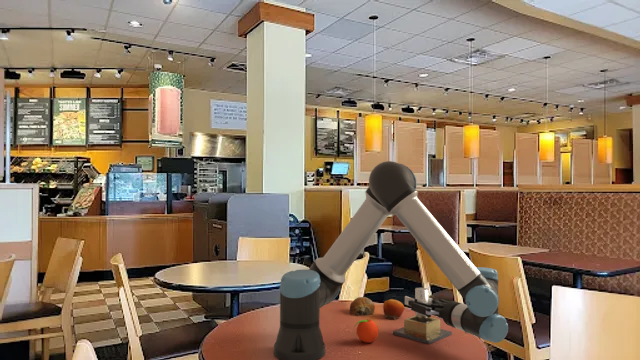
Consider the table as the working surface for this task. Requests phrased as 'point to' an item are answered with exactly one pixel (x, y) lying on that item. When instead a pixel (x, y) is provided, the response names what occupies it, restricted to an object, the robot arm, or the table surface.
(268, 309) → the table surface
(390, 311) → the fruit
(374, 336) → the clementine
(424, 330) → the gold square holder
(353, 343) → the table surface
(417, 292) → the silver metal tall cylinder
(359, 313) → the bread roll
